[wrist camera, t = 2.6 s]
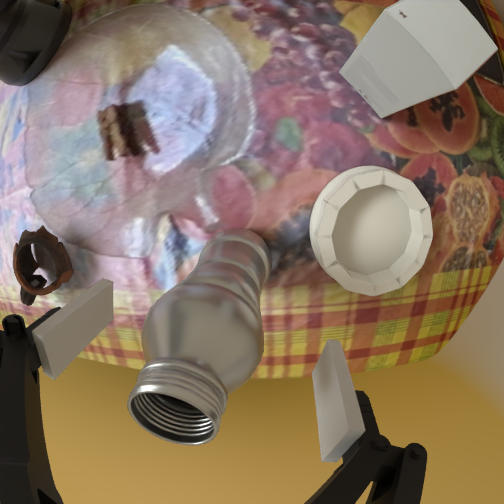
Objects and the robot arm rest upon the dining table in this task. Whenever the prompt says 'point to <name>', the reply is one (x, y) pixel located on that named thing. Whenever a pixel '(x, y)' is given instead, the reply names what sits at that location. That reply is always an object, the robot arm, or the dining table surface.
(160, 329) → the plastic bottle
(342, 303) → the dining table surface
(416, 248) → the bowl
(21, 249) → the broken clay pot
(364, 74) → the small box
